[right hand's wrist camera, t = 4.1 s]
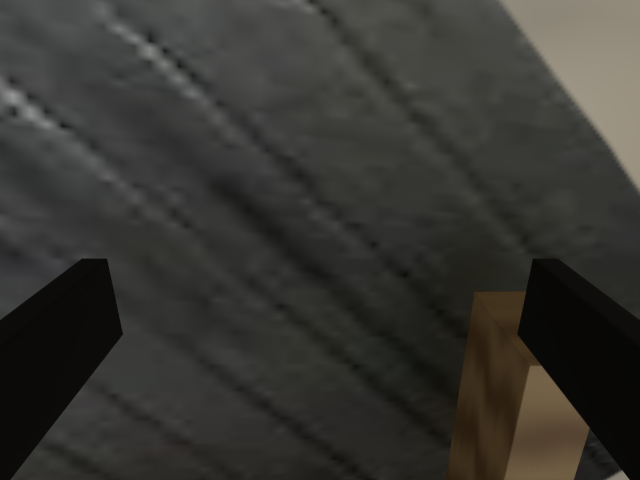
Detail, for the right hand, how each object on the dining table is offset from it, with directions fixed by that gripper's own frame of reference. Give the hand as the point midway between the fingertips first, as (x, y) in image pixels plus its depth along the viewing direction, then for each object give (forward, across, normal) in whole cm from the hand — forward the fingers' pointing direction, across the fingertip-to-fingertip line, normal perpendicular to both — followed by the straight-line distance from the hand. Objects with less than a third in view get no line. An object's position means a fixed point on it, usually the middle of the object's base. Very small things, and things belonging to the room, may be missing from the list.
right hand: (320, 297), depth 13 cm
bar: (+18, +15, -22) cm, 32 cm away
